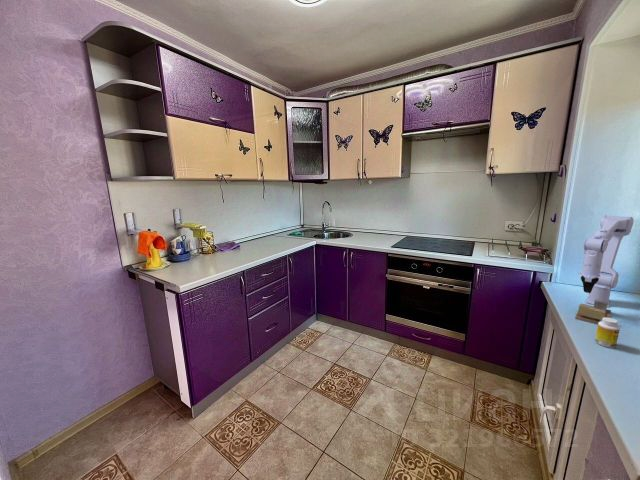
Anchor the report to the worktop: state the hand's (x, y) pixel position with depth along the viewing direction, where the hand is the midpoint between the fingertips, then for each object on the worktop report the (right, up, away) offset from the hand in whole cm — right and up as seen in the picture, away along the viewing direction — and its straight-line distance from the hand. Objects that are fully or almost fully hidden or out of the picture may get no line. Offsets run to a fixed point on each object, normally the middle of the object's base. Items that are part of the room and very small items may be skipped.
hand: (587, 292), depth 122 cm
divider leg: (-4, -10, -5) cm, 12 cm away
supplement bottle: (-15, -16, -21) cm, 30 cm away
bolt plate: (+2, -11, -1) cm, 11 cm away
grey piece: (+3, -10, -2) cm, 10 cm away
